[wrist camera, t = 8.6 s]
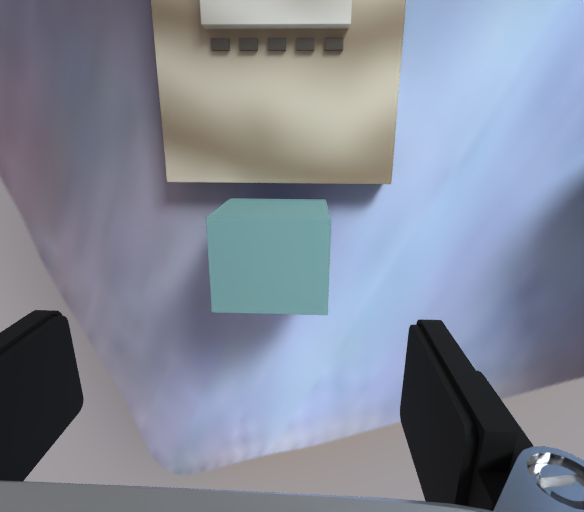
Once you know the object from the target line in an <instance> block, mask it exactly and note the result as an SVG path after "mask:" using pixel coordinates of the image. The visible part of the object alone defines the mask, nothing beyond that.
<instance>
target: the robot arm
mask: <svg viewBox="0 0 584 512" xmlns="http://www.w3.org/2000/svg"><path fill="white" fill-rule="evenodd" d="M82 405H83V394H82V389H81V384H80V378H79V373H78V368H77V364H76V358H75V353H74V348H73V344H72V338H71V333H70V328H69V323H68V320H67V318H66V317H65V316H62V314H61V313H60V312H59V311H46V310H35V311H33V312H31V313H29V314H28V315H26V316H25V317H23V318H22V319H20V320H19V321H17V322H16V323H14V324H13V325H11V326H10V327H8V328H7V329H5V330H4V331H2V332H1V333H0V512H584V460H582V459H580V458H578V457H576V456H574V455H572V454H570V453H567V452H564V451H562V450H559V449H555V448H550V447H545V446H542V447H534V446H533V445H532V443H531V442H530V440H529V439H528V438H527V436H526V435H525V433H524V432H523V431H522V429H521V428H520V426H519V425H518V424H517V422H516V421H515V419H514V418H513V416H512V415H511V413H510V412H509V411H508V409H507V408H506V406H505V405H504V403H503V402H502V401H501V399H500V398H499V396H498V395H497V393H496V392H495V391H494V389H493V388H492V386H491V385H490V384H489V382H488V381H487V379H486V378H485V376H484V375H483V374H482V373H481V372H479V371H476V370H475V369H474V367H473V366H472V364H471V363H470V361H469V360H468V359H467V357H466V356H465V354H464V353H463V351H462V350H461V348H460V347H459V345H458V344H457V342H456V341H455V340H454V338H453V337H452V335H451V334H450V332H449V331H448V329H447V328H446V326H445V325H444V323H443V322H442V321H441V320H418V321H417V324H416V325H411V326H410V328H409V335H408V343H407V352H406V361H405V370H404V379H403V388H402V397H401V406H400V417H401V423H402V426H403V430H404V433H405V436H406V439H407V442H408V446H409V449H410V452H411V455H412V459H413V462H414V465H415V468H416V472H417V475H418V478H419V481H420V484H421V488H422V491H423V494H424V497H425V501H414V500H402V499H390V498H376V497H356V496H354V497H353V496H336V495H315V494H295V493H275V492H254V491H231V490H211V489H187V488H165V487H143V486H142V487H141V486H120V485H97V484H96V485H95V484H73V483H72V484H71V483H48V482H26V481H24V479H25V478H26V477H27V476H28V475H29V473H30V472H31V471H32V470H33V468H34V467H35V466H36V465H37V463H38V462H39V461H40V460H41V459H42V457H43V456H44V455H45V453H46V452H47V451H48V450H49V449H50V447H51V446H52V445H53V444H54V443H55V441H56V440H57V439H58V438H59V436H60V435H61V434H62V433H63V432H64V430H65V429H66V427H68V425H69V424H70V423H71V422H72V420H73V419H74V418H75V417H76V416H77V414H78V413H79V412H80V410H81V408H82Z"/></svg>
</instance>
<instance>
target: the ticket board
mask: <svg viewBox="0 0 584 512" xmlns="http://www.w3.org/2000/svg"><path fill="white" fill-rule="evenodd" d="M405 6H406V0H151V9H152V20H153V31H154V42H155V53H156V64H157V75H158V86H159V98H160V109H161V120H162V131H163V142H164V153H165V164H166V175H167V182H228V183H328V184H391V180H392V168H393V155H394V143H395V130H396V118H397V106H398V93H399V81H400V68H401V56H402V44H403V31H404V19H405Z"/></svg>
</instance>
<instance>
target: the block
mask: <svg viewBox="0 0 584 512" xmlns="http://www.w3.org/2000/svg"><path fill="white" fill-rule="evenodd" d="M206 229H207V245H208V261H209V277H210V293H211V309H212V312H215V313H258V314H302V315H328V292H329V264H330V236H331V217H330V213H329V210H328V206H327V202H326V199H243V198H230V199H229V200H227V201H226V202H225V203H224V204H222V205H221V206H220V207H219V208H217V209H216V210H215V211H213V212H212V213H211V214H210V215H208V216H207V217H206Z"/></svg>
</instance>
